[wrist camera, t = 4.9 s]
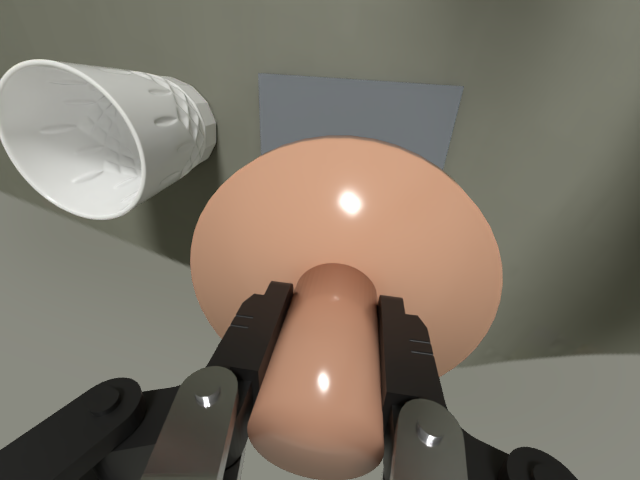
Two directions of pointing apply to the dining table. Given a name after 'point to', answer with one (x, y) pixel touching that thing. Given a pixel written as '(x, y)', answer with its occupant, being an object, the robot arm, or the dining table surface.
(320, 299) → the lid
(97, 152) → the white cup
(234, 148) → the dining table surface
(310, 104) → the mat
